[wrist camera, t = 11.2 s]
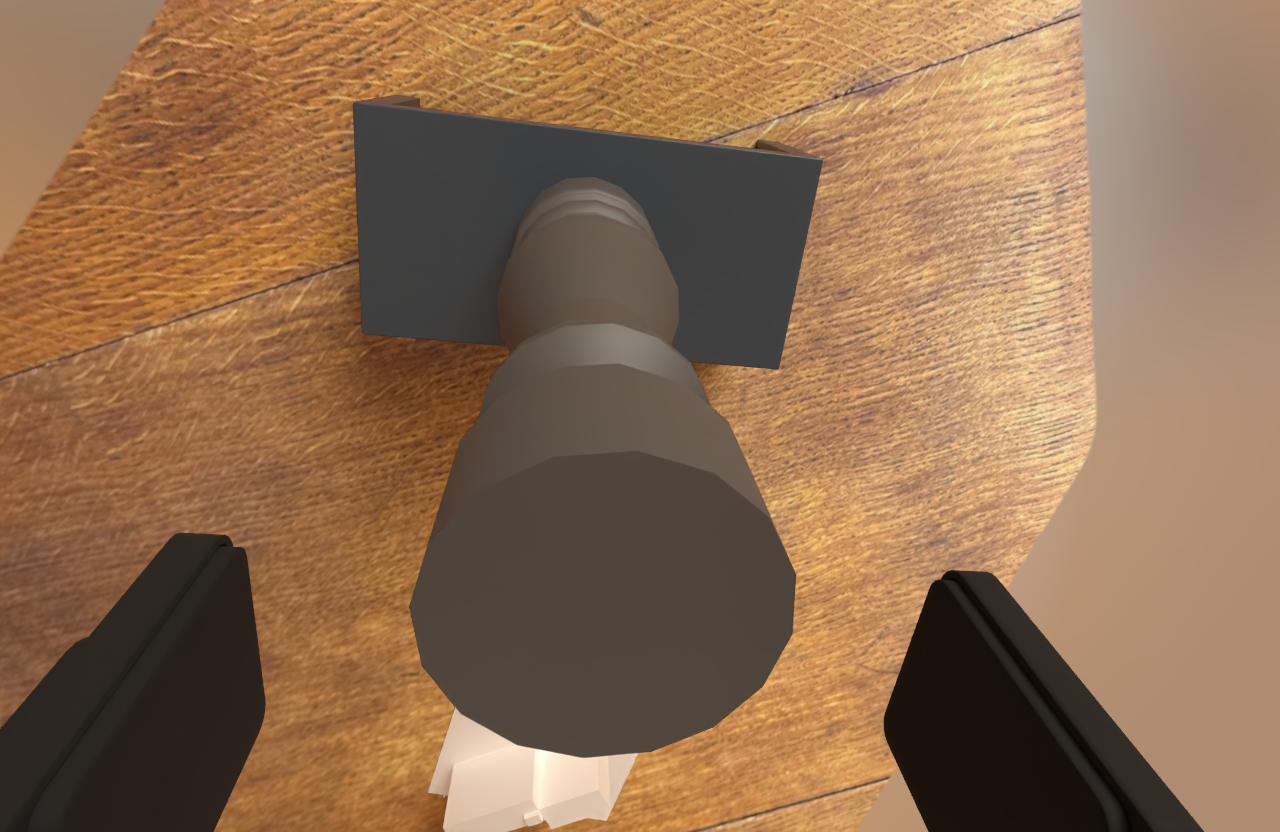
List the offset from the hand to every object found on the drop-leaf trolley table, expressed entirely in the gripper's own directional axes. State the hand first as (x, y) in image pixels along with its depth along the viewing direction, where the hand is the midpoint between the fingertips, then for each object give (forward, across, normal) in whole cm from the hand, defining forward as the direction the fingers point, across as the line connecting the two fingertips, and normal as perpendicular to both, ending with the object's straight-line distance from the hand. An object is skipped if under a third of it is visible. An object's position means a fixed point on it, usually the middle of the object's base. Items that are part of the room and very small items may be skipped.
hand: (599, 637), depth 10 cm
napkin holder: (+33, 0, +43) cm, 54 cm away
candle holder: (+26, 0, 0) cm, 26 cm away
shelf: (+34, 0, +1) cm, 34 cm away
